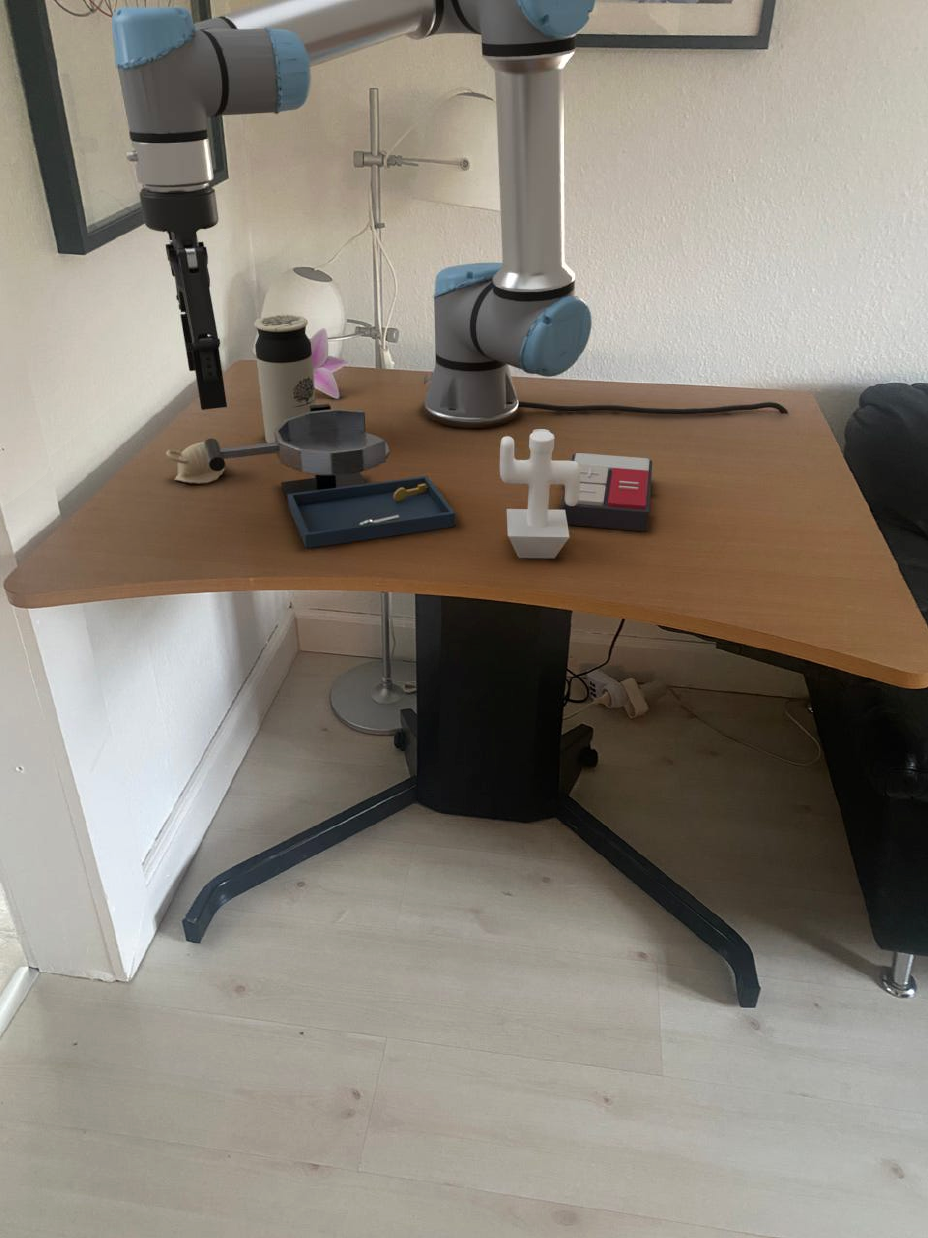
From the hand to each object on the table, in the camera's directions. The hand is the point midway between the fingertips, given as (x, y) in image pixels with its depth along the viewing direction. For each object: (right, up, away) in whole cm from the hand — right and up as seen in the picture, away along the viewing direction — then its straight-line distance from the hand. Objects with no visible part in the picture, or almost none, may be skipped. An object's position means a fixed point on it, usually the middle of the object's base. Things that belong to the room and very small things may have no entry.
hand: (207, 387), depth 109 cm
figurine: (+38, -18, +8) cm, 43 cm away
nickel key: (+19, -14, +11) cm, 26 cm away
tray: (+17, -13, +15) cm, 26 cm away
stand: (+10, -9, +21) cm, 25 cm away
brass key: (+22, -10, +19) cm, 31 cm away
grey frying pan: (+9, -7, +8) cm, 14 cm away
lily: (+3, +12, +55) cm, 56 cm away
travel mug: (+3, +1, +37) cm, 37 cm away
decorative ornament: (-8, -7, +25) cm, 27 cm away
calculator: (+48, -11, +19) cm, 53 cm away
